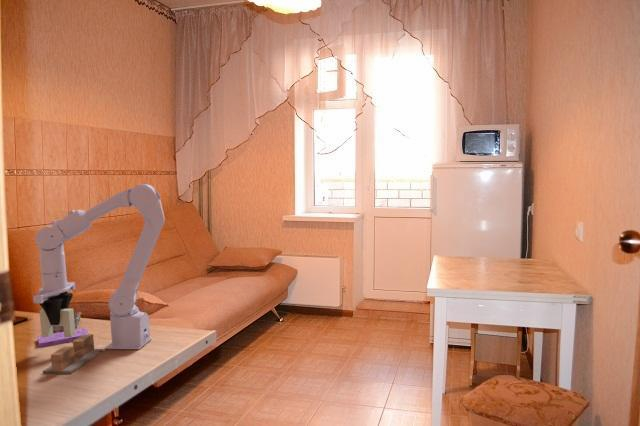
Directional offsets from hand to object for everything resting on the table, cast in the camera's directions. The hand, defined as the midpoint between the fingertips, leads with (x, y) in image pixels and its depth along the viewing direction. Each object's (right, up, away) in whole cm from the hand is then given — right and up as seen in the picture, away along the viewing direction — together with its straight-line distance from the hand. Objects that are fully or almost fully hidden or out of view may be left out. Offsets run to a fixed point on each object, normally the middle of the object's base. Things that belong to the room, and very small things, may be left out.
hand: (58, 323), depth 128 cm
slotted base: (+8, -8, -6) cm, 13 cm away
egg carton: (-9, -6, +23) cm, 25 cm away
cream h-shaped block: (0, -3, 0) cm, 3 cm away
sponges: (-4, -8, +10) cm, 14 cm away
